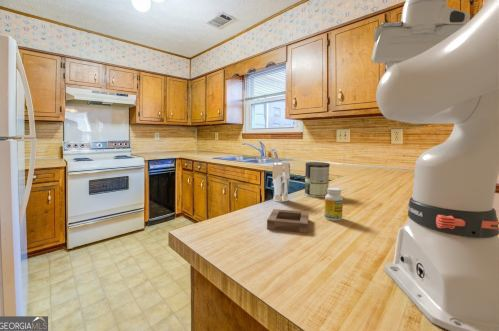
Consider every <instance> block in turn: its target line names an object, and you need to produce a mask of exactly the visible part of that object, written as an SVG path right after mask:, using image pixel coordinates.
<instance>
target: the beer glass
mask: <svg viewBox="0 0 499 331" xmlns="http://www.w3.org/2000/svg"><path fill="white" fill-rule="evenodd" d="M290 178H291V163H290V162H289V163H288V162H273V165H272V181H273V190H274V191H273V192H274V193H273V198H272V199H274V200H273V201H274V202H277V203H285V202H288V201H289V195H288V190H289V185H290Z"/></svg>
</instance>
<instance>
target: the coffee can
mask: <svg viewBox="0 0 499 331" xmlns="http://www.w3.org/2000/svg"><path fill="white" fill-rule="evenodd" d="M330 165H331V164H330V162H329V163H328V162H319V161H317V162H316V161H315V162H314V161H312V162H310V161H309V162H305V178H304V181H305V182H304V195H305V196H306V197H311V198H325V196H326V195H327V194H328V192H327V191H328V188H329V185H330V183H329V180H330Z"/></svg>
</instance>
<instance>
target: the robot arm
mask: <svg viewBox="0 0 499 331" xmlns="http://www.w3.org/2000/svg"><path fill="white" fill-rule="evenodd" d="M470 18H471V14H470V13H469V12H467V11H463V10H460V9H456V8H453V7H451V6H448V0H405V1H404V5H403V7H402V12H401V20H400V21H393V22H382V23H381V24H379V25H378V26H377V27H376V28H374V33H373V41H374V44H373V48H372V53H371V59H370V60H371V61H372V62H373V64H385V66H384V67H385V72H384V73H383V75H381V78H380V80H379V82H378V84H377V88H376V90H375V100H376V104H377V105H376V106H377V107H378V110H379V112H380V113H381V114H382V115H383V117H385V119H386V120H391V121H396V122H401V123H407V124H413V125H414V124H415V125H417V124H418V125H420V124H421V125H425V124H426V125H429V124H430V125H432V124H435V125H437V124H439V125H441V124H442V125H443V124H445V125H446V124H454V125H453V127H452V128H453V129H452V132H451V133H450V135H449V136H448V137H447V139H446V140H444V141H443V142H441V143H440V144H437V145H435V146H433V147H430V148H428V149H426V150H425V151H423V152H422V153H421V154H420V155H419V156H418V157H417V159H416V161H415V163H414V175H413V184H412V186H413V187H412V196H411V197H410V198H409V201H408V204H407V209H408V210H407V216H408V219H407V221H406V222H405V223H404V225H402V226H401V227H399V228H398V231H397V235H396V241H395V242H396V243H395V249H394V250H395V251H394V256H393V260H392V261H390V262H387V263H385V265H384V271H385V272H386V274H388V276H390V278H391V280H393V282H395V284H396V285H398V287H399V289H401V290H402V291H403V293H404V294H405V295H406V296H407V297H408V298H409V299H410V300H411V302H413V303H414V305H416V307H417V308H418V310H420V311H421V312H422V314H423V315H424V316H425V317H426V318H427V319H428V320H429V321H430V322H431V323H432V324H434V325H436V326H438V327H440V328H443V329H445V330H448V331H499V218H498V216H497V210H496V209H495V208H494V201H495V193H496V187H497V183H498V177H499V0H488V1H486V3H484V5H483V6H482V7H481V8H480V10H479V11H478V12H477V13H476V14H475V15H474V16H472V18H471V19H470Z"/></svg>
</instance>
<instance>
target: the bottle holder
mask: <svg viewBox="0 0 499 331" xmlns="http://www.w3.org/2000/svg"><path fill="white" fill-rule="evenodd" d="M309 214H310V212H309V211H302V210H301V211H300V210H293V209H292V210H291V209H290V210H288V209H277V208H273V209H272V211H271V212H270V215H269V216H268V218H267V220H266V229H268V230H277V231H285V232H286V231H287V232H295V233H296V232H297V233H305V234H307V233H308V228H309Z"/></svg>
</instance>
